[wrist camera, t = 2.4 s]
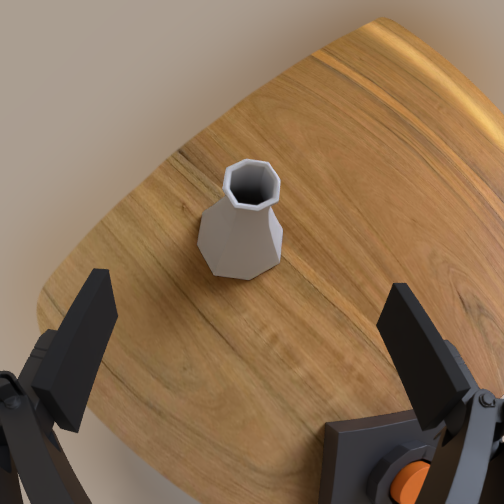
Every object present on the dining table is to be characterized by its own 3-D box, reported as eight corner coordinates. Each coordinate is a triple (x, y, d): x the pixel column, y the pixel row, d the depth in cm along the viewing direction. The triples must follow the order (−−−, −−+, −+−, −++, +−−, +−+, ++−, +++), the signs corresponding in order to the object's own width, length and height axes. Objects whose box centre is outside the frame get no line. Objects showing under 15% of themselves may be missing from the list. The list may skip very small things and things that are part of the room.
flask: (272, 192, 28) (297, 124, 18) (292, 272, 26) (332, 235, 16) (190, 205, 27) (177, 139, 17) (204, 288, 25) (195, 260, 15)
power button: (386, 505, 17) (395, 514, 16) (393, 467, 18) (404, 474, 17) (424, 493, 18) (435, 500, 16) (432, 455, 19) (444, 461, 17)
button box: (315, 521, 20) (331, 549, 15) (325, 422, 23) (347, 439, 18) (429, 492, 21) (455, 508, 17) (444, 401, 24) (476, 408, 19)
